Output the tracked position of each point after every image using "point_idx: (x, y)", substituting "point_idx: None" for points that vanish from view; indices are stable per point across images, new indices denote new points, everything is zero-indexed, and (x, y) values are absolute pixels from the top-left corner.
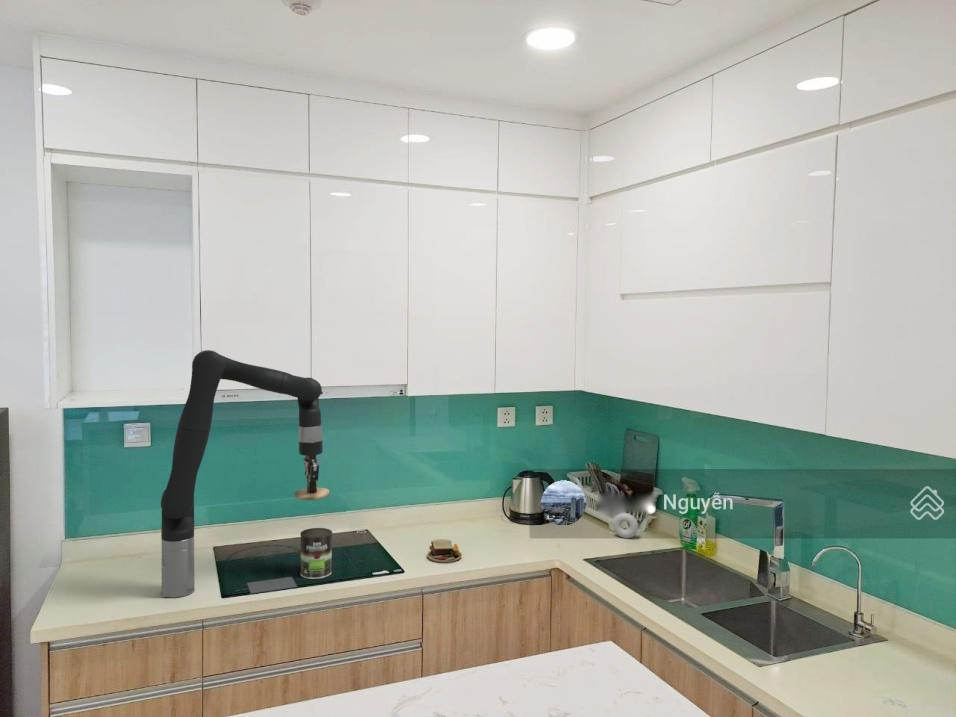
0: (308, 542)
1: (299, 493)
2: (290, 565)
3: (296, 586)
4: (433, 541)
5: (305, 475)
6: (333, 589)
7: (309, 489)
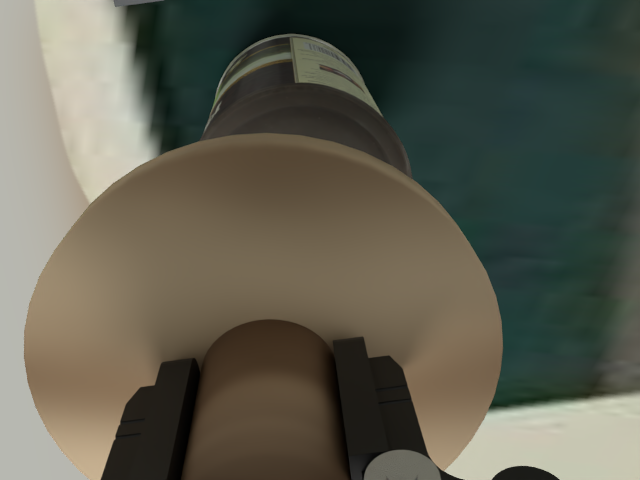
0: (207, 127)
1: (228, 219)
2: None
3: (117, 3)
4: None
5: (509, 471)
6: (77, 176)
7: (167, 386)
